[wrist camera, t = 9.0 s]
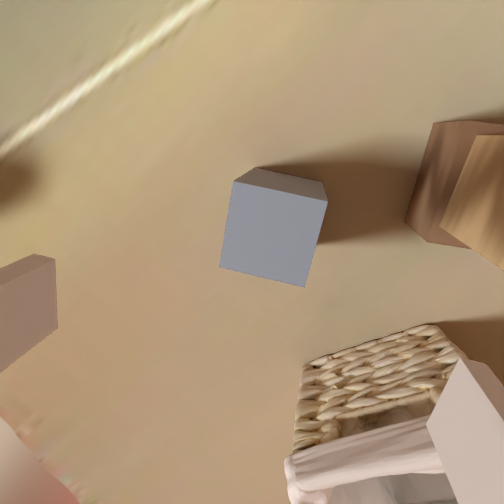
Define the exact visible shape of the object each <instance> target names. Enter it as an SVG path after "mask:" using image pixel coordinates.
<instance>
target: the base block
mask: <svg viewBox="0 0 504 504" xmlns="http://www.w3.org/2000/svg"><path fill="white" fill-rule="evenodd" d="M476 135H504V125H503V124H495V123H487V122H478V121H470V120H463V121H452V122H441V123H433V126H432V130H431V133H430V136H429V140H428V143H427V147H426V150H425V153H424V157H423V160H422V164H421V167H420V170H419V174H418V177H417V181H416V184H415V187H414V191H413V194H412V197H411V201H410V204H409V208H408V211H407V214H406V218H405V221H404V222H405V223H406V224H408V225H409V226H410V227H411V228H412V229H413V230H414V231H415V232H416V233H418V234H419V235H420V236H421V237H422V238H423V239H424V240H425V241H426V242H430V243H436V244H442V245H449V246H455V247H461V248H468V249H471V248H470V247H468V246H467V245H465V244H464V243H463V242H461V241H460V240H458V239H457V238H455V237H454V236H452V235H451V234H449V233H448V232H447V231H445V230H444V229H442V228H441V227H439V225H440V223H441V220H442V218H443V215H444V213H445V211H446V208H447V206H448V203H449V201H450V198H451V196H452V194H453V191H454V189H455V186H456V184H457V182H458V179H459V177H460V174H461V172H462V169H463V167H464V165H465V162H466V160H467V157H468V155H469V152H470V150H471V148H472V145H473V143H474V140H475V138H476Z"/></svg>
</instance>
